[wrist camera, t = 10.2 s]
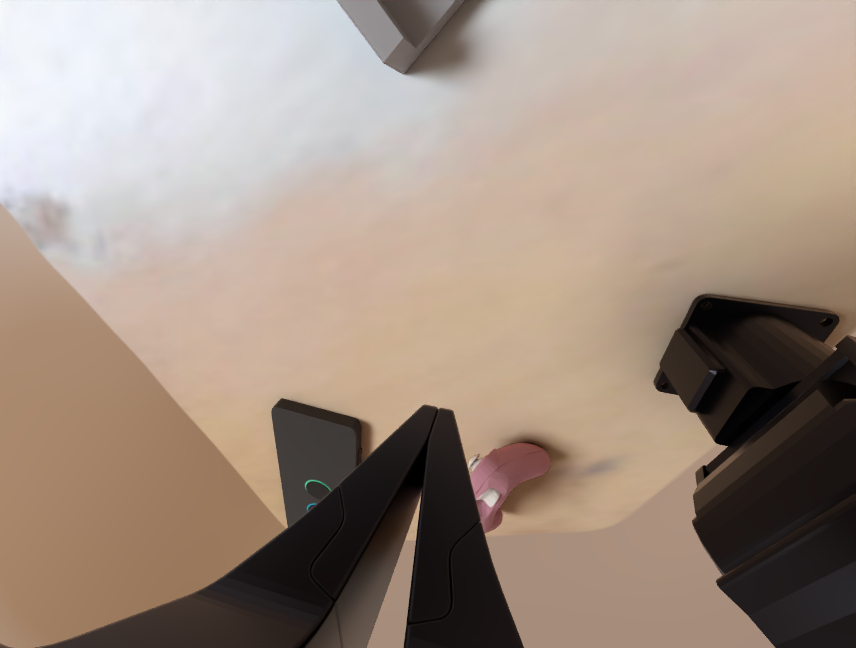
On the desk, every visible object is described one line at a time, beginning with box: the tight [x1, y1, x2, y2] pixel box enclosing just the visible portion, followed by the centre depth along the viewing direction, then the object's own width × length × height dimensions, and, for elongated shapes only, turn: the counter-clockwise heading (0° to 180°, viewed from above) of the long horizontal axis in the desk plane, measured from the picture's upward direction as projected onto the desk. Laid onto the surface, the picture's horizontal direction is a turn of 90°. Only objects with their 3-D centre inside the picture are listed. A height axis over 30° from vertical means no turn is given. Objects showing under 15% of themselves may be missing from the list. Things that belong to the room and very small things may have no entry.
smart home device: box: [272, 398, 362, 527], centre depth 35 cm, size 8×2×20 cm
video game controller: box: [468, 443, 551, 533], centre depth 26 cm, size 10×5×7 cm, turn 161°
